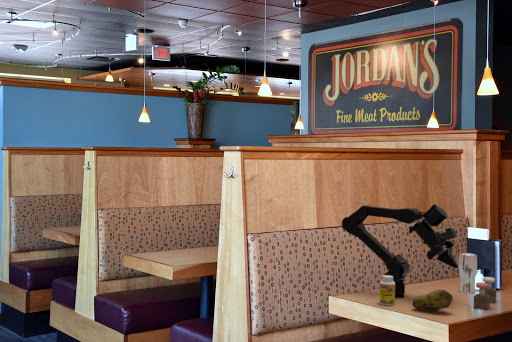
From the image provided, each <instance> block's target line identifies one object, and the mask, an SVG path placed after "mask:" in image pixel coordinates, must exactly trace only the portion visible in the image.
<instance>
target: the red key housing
mask: <svg viewBox="0 0 512 342" xmlns="http://www.w3.org/2000/svg"><path fill="white" fill-rule="evenodd" d="M490 308H491V302H490V295H485V297H481V296H479V293H475V295H473V309H476V310H483V311H488V310H489V309H490Z"/></svg>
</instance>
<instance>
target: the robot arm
mask: <svg viewBox="0 0 512 342" xmlns="http://www.w3.org/2000/svg"><path fill="white" fill-rule="evenodd" d="M368 217H376V218H377V217H378V218H384V219H393V220H396V221H398V222H401V223H404V224H414V223H415V224H414V225H409V226H408V234H409V235H410V234H413V233H416V235H417V236H418V237H419V239H421V240H422V244H423V245H424V246H425V245H426V247H428V248H429V249H430V250H428V251H427V252H426V257H427V259H428V260H430V261H432V260H434V258H435V260H437V261H438V262H439V261H440V262H441V263H444V264H446V265H448V266H450V267H452V268H455V269H458V268H459V264H458V263H457V261H456V259H455V257H454V255H453V252H452V251H453V247H454V246H455V245H456V242H454V240H452V239H455V238H458V235H457V230H456V229H455V228H452V227H448V228H446V229H445V231H444V232H442V233H440V231H435V230H434V229H433V227H434V228H435V227H436V228H437V227H438V226H440V225H441V224H442V223H443V222H444V221H445V220H446V219H447V218H448V217H449V215H448V213H447V212H446V211H445V210H444V209H442V207H440V206H438V204H437V203H434V204H432V205H431V206H430V208H429V209H427V210H426V211H420V210H419V209H418V208H416V207H403V208H392V207H383V206H376V205H375V206H373V205H369V204H366V205H362V206H360V207H359V208H358V209H357V210H355V211H354V212H352V213H351V214H350V215H349V216H346V217H344V218H343V219H342V221H341V229H342V230H343V231H345V232H346V233H348V234H349V235H352V236H354V237H356V238H358V239H359V240H360V241H361V242H362V243H363V244H364V245H365V246H367V248H368V249H369V250H370V251H372V252H373V253H374V254H375V255H376V256H377V257H378V258H379V259H380V260H381V261H382V262H383V263H384V265H385V267H386V270H388V271H387V272H386V273H385V274H383V275H389V276H393V281H394V282H395V298H404V296H405V293H406V292H405V291H406V285H405V282H404V279H405V278H406V276H407V275H408V274H409V273H410V271H411V267H410V264H409V261H408V260H407V259H406V258H405V257H403V255H401V254H400V253H399V254H396V255H395V254H394V253H392V252H391V251H390V250H389V249H387V248H386V247H385V245H383V244H382V242H380V241H379V240H378V239H377V238H376V237H375V236H373V235H372V234H371V233H370V232H369V231H368V230H367V228H366V226H365V224H364V222H365V220H366V219H367V218H368ZM419 220H421V221H419ZM436 256H437V257H436Z"/></svg>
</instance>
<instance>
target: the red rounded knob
mask: <svg viewBox="0 0 512 342" xmlns="http://www.w3.org/2000/svg"><path fill="white" fill-rule="evenodd" d="M475 287H476V288H477V289H478V291H479V292H478V294H479V296H481V297H485V288H489V284H487V283H486V282H476V283H475Z"/></svg>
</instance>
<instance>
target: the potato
mask: <svg viewBox="0 0 512 342" xmlns="http://www.w3.org/2000/svg"><path fill="white" fill-rule="evenodd" d="M452 302H453V294H451V293H450V292H449V291H447V290H445V289H436V290H432V291H431V292H429V293H427V294H423V295H419V296H416V297H415V298H414V299H413V300H412V307H413V308H415V309H416V310H419V311H425V312H427V311H428V312H436V311H439V310H442V309H448V308H449V307H450V306H451V304H452Z"/></svg>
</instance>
